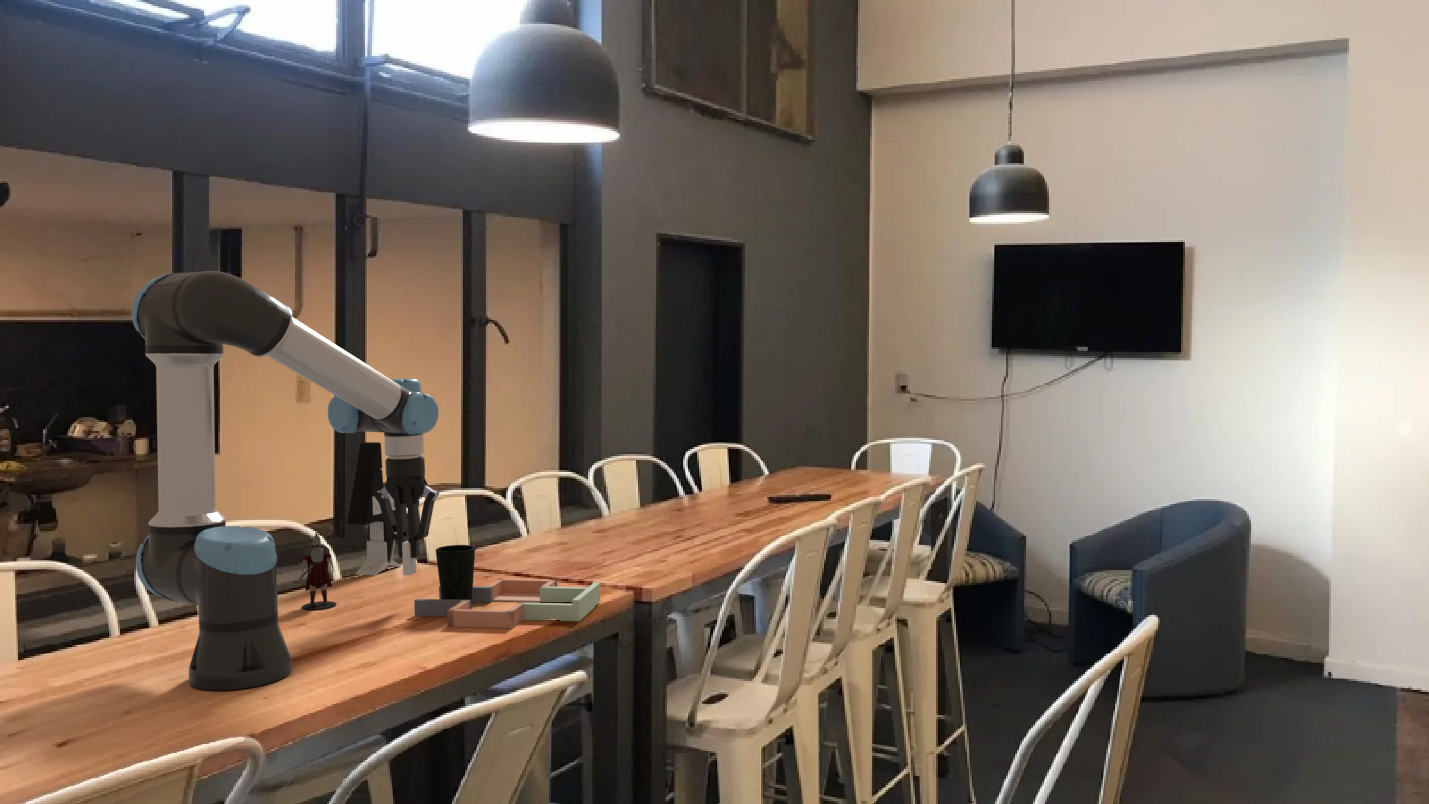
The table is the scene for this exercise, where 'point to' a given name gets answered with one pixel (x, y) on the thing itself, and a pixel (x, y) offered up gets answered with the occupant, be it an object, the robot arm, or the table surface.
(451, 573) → the cup
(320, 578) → the figurine
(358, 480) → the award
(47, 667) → the table surface
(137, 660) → the table surface
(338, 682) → the table surface
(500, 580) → the track
